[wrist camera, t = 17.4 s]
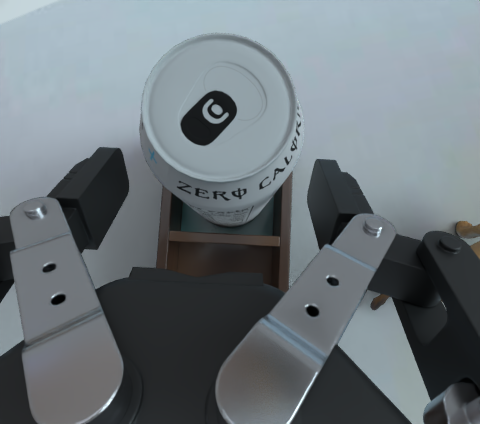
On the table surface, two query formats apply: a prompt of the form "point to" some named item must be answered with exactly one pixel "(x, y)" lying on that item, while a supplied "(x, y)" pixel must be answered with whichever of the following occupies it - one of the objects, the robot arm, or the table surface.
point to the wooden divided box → (227, 240)
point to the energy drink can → (221, 126)
